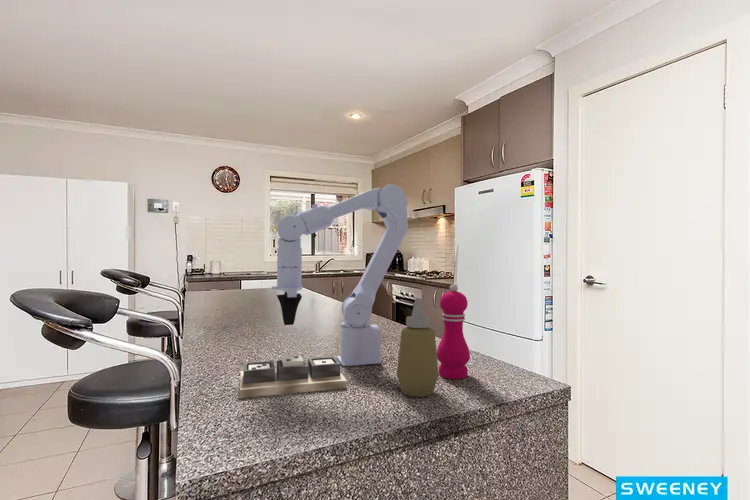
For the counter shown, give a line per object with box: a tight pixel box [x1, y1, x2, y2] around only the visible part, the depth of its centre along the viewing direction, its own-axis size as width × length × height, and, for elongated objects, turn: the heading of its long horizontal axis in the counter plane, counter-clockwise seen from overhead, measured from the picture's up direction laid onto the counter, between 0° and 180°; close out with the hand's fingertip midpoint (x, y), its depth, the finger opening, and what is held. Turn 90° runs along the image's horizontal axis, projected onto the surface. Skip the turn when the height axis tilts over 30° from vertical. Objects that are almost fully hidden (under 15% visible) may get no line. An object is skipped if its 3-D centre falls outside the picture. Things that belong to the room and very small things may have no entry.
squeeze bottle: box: [396, 297, 440, 398], centre depth 76 cm, size 8×8×18 cm
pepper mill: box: [436, 283, 471, 380], centre depth 87 cm, size 7×7×20 cm
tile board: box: [238, 356, 348, 399], centre depth 81 cm, size 20×12×4 cm, turn 107°
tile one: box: [313, 359, 334, 365], centre depth 83 cm, size 4×4×2 cm
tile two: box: [281, 355, 304, 367], centre depth 81 cm, size 4×4×2 cm
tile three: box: [249, 364, 270, 370], centre depth 79 cm, size 4×4×2 cm
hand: (288, 324), depth 94 cm, fingers closed
